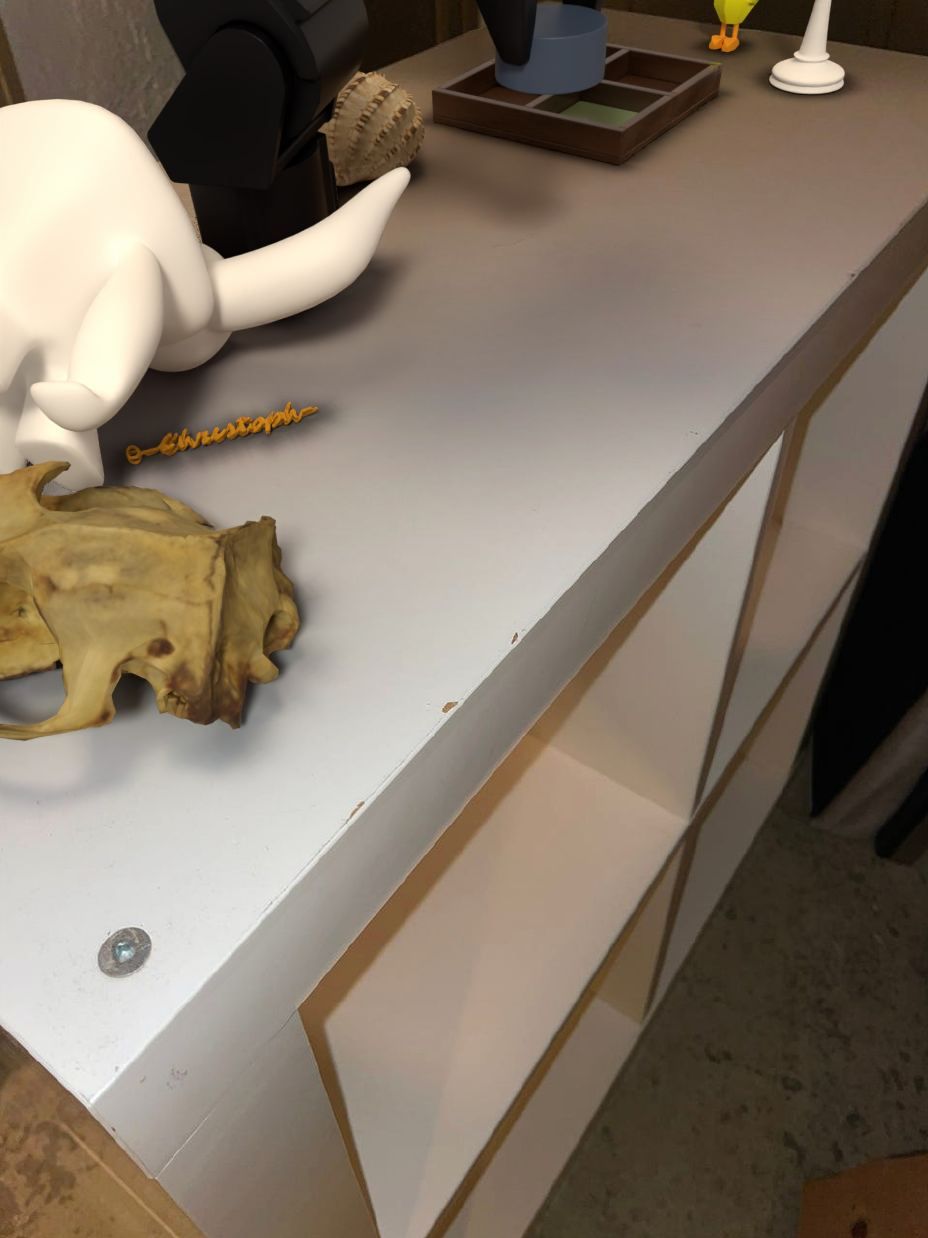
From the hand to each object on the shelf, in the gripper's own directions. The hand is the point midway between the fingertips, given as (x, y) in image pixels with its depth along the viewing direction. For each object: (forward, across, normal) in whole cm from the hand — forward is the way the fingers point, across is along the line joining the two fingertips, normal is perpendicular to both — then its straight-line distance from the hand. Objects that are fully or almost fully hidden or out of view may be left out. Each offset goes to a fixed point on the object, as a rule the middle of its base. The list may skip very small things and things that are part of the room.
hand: (548, 47), depth 38 cm
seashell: (+11, +6, +18) cm, 21 cm away
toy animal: (+8, -24, +7) cm, 27 cm away
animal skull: (+13, -25, -2) cm, 28 cm away
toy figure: (+11, +39, +10) cm, 42 cm away
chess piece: (+11, +35, +2) cm, 37 cm away
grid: (+11, +23, +12) cm, 28 cm away
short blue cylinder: (+1, 0, 0) cm, 1 cm away
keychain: (+11, -16, +4) cm, 20 cm away
